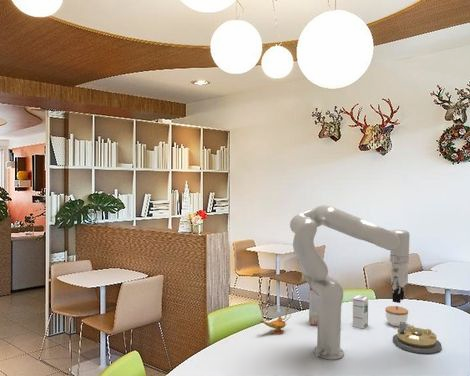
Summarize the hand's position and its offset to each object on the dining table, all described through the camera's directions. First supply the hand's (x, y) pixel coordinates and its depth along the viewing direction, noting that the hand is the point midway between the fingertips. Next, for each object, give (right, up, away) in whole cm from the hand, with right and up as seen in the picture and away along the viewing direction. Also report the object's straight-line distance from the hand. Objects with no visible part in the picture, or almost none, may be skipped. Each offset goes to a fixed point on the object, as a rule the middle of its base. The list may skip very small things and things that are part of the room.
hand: (398, 300), depth 190 cm
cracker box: (-26, -20, +30) cm, 45 cm away
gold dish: (+10, -19, +6) cm, 23 cm away
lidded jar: (+10, -20, +30) cm, 38 cm away
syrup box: (-9, -20, +28) cm, 35 cm away
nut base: (+10, -21, +6) cm, 24 cm away
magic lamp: (-51, -20, +19) cm, 58 cm away
